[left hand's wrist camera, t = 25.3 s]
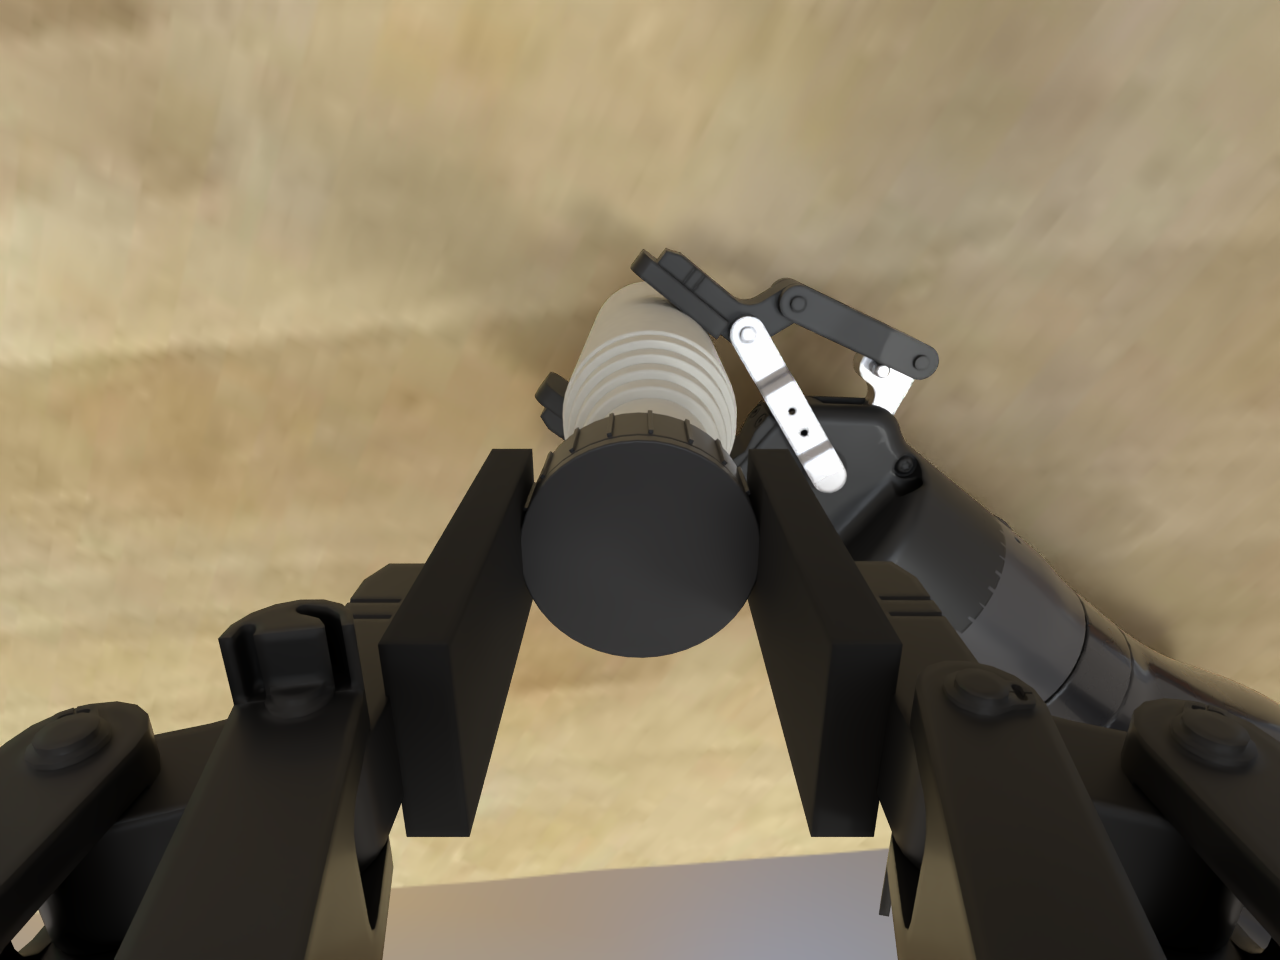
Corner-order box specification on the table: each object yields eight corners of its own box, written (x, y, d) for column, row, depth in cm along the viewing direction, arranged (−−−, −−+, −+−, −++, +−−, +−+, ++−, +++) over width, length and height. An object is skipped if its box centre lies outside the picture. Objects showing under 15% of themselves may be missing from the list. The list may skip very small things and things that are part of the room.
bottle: (593, 391, 33) (535, 602, 16) (592, 279, 31) (526, 379, 14) (701, 393, 33) (761, 606, 16) (706, 281, 31) (780, 384, 14)
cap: (781, 566, 15) (799, 611, 13) (586, 639, 15) (581, 692, 14) (702, 373, 13) (710, 397, 12) (491, 462, 14) (471, 497, 12)
